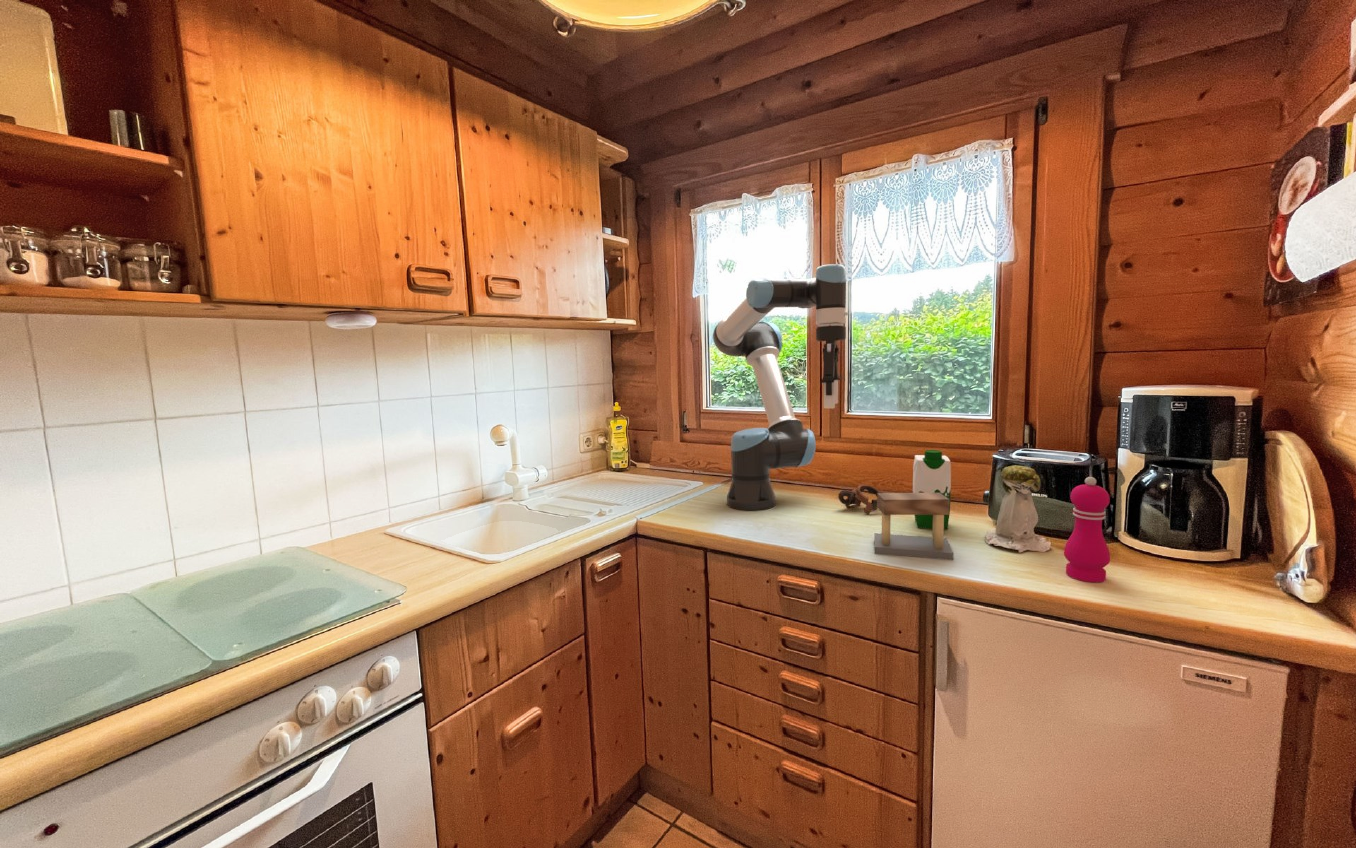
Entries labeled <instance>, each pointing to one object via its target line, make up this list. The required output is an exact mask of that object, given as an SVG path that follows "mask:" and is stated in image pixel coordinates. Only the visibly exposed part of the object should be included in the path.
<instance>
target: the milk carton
mask: <svg viewBox="0 0 1356 848" xmlns="http://www.w3.org/2000/svg"><path fill="white" fill-rule="evenodd" d="M912 466H913V467H912V470H913V471H912V474H913V475H912V493H941V494H942V495H944V496H945V497H947V498H948V499H950V500H951V494H952V493H951V490H952V489H951V488H952V487H951V485H952V484H951V483H952V474H951V473H952V472H951V471H952V463H951V460H950V458H949V457H948V456H947V455H943V451H941V450H937V449H926V450H924V455H923V454H921V455H920V454H919V455H918V454H915V455H914V460H913V465H912ZM950 514H951V503H950V504H949V515H944V529H945V530H946V531H948V529H949V521H950V516H951V515H950ZM914 521H915V524H916V527H917V529H931V530H933V515H914Z"/></svg>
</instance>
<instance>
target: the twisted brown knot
mask: <svg viewBox="0 0 1356 848" xmlns="http://www.w3.org/2000/svg"><path fill="white" fill-rule="evenodd" d="M865 490H866V491H868V492H867V493H868V494H871V495H875V497H877V493H881V492H880V491H878V490H877V489H876V487H873V486H871V485H869V484H868V485H866V484H860V485H858V486H857V487H855V488H853V489H852V490H851V491H850V490H848V489H843V490H841V491H840V492H839V493H838V494H837V498H838V500H839V501H840V503H841V504H842V505H844V506H845V508H846V509H849V508H850V506H851V505H856V506H861V504H862V503H863V504H864V505H865V509H864V510H863V512H864V514H868V515H870V513H872V511H875V510H877V509H878V508H877V498H876V499H875V498H874V499H873V498H872V499H871V502H870V501H869V497H867V496H866V495H864V494H863V493H862V492H864V491H865ZM844 497H846V499H845V498H844Z"/></svg>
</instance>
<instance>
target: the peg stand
mask: <svg viewBox="0 0 1356 848" xmlns="http://www.w3.org/2000/svg"><path fill="white" fill-rule="evenodd" d="M891 516H892V515H884V514H883V513H882V512H881V533H877V532H876V533H875V532H874V534H873V535H874V538H873V539H874V554H876V555H877V554H879V555H890V556H892V555H893V556H901V557H902V556H903V557H911V558H912V557H914V558H926V559H928V558H929V559H938V560H949V561H950V560H951V561H953V560H954V553H953V550H952V547H951V544H950V542H949V539H948V538H947V537H946V538H945V537H944V532H945V531H944V515H933V529H932V537H931V536H922V535H921V536H919V535H908V534H906V535H903V534H891Z"/></svg>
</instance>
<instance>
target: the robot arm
mask: <svg viewBox="0 0 1356 848" xmlns="http://www.w3.org/2000/svg"><path fill="white" fill-rule="evenodd" d="M846 295H847V277H846V267H845V266H844V265H842V264H838V263H837V264H836V263H835V264H834V263H833V264H832V263H831V264H823V265H820V266H818V267H817V268H816V270H815V275H814V277H813V278H807V279H806V278H805V279H804V278H803V279H802V278H801V279H800V278H799V279H798V278H797V279H796V278H794V279H793V278H791V279H788V278H786V279H784V278H783V279H781V278H780V279H778V278H777V279H776V278H759V279H752V280H750V282H748V284H747V288H746V295H745V296H746V297H745V298H744V300H743V301H742V302H741V304H739V305H738V306H737V307H736V309H735V310H734V311H733V312H732V313H731V314H730V315H729V316H728V317H726V318H723V319H721V320H720V321H719V322H718V323H717V325H716V326H715V328H713V329H714V330H713V333H712V338H713V339H712V340H713V343H714V345H715V348H717V350H718V351H720V353H723V354H724V355H725V356H729V357H745V360H746V363H747V365H749V366H751V367H752V369H753V370H752V371H753V373H754V376H755V379H756V383H757V387H758V389H759V393H760V396H761V397H760V398H761V400H762V404H763V407H764V411H765V414H766V418H767V422H768V425H769V426H768V427H767V428H766V427H753V428H746V429H742V430H738V431H736V432H734V433H733V434H732V435H731V439H730V440H731V441H730V449H729V450H730V456H731V457H730V458H731V482H730V486H729V488H728V492H727V495H726V505H727V506H728V507H729V508H732V509H737V510H742V511H759V510H767V509H771V508H773V507H775V506H776V504H777V503H776V502H777V500H776V499H777V498H776V494H775V492H774V488H773V485H772V483H771V479H770V477H771V476H770V470H775V469H776V470H777V469H787V468H788V469H789V468H799V467H804V466H807V465H809V464H810V463H811V462H812V461H813V459H814V456H815V453H816V447H817V445H816V444H817V443H816V437H815V434H814V432H813V431H812V430H811V429H809V428H804V424H803V422H802V420H801V419H799V418H796V415H795V412H794V409H793V406H792V403H791V400H790V397H789V393H788V390H787V387H786V384H785V380H784V377H783V374H782V371H781V367H780V364H779V362H778V357H779V356H780V353H781V351H782V348H783V341H782V340H783V335H782V332H781V330H780V328H779V327H778V325H776V324H775V323H773V322H769V321H761V320H762V319H763V318H764V317H765V316H767V315H768V314H769V313H770V312H771V311H772V310H774V309H775V308H799V309H811V308H813V307H815V325H817V327H816V328H815V336H816V337H815V340H816V341H817V342H825V343H824V344H823V347H822V356H823V357H822V362H823V376H822V378H821V379H820V383H821V384H823V409H836V405H837V404H839V380H840V381H841V376H840V375H839V370H838V362H839V354H840V348H839V347H838V346H839V345H838V344H837V341H844V340H846V338H847V335H846V334H847V331H846V329H847V328H846V325H845V323H846V321H847V320H846V317H847V316H848V315H849V312H848V311H846V307H847V306H846V304H847V303H846V302H847V300H846V298H847V297H846Z"/></svg>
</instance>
